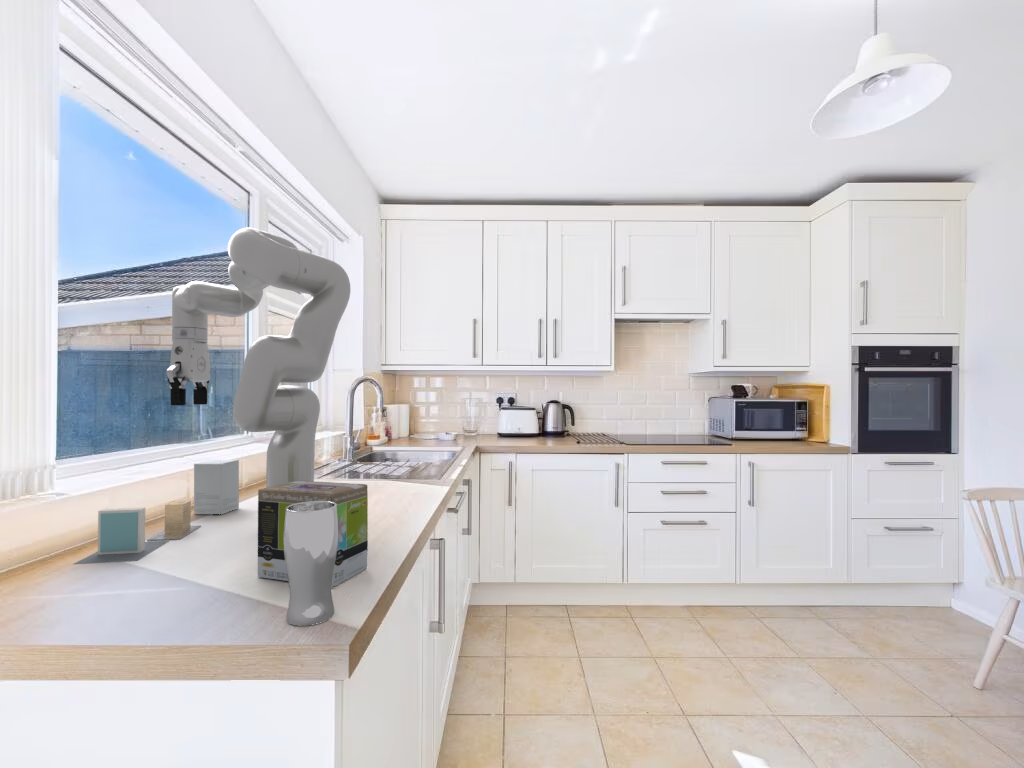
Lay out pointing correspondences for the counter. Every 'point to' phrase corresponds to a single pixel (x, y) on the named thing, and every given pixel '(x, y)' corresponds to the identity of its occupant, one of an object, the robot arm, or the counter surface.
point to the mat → (122, 555)
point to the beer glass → (310, 560)
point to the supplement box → (216, 486)
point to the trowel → (176, 522)
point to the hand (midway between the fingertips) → (189, 404)
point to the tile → (121, 530)
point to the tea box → (349, 525)
